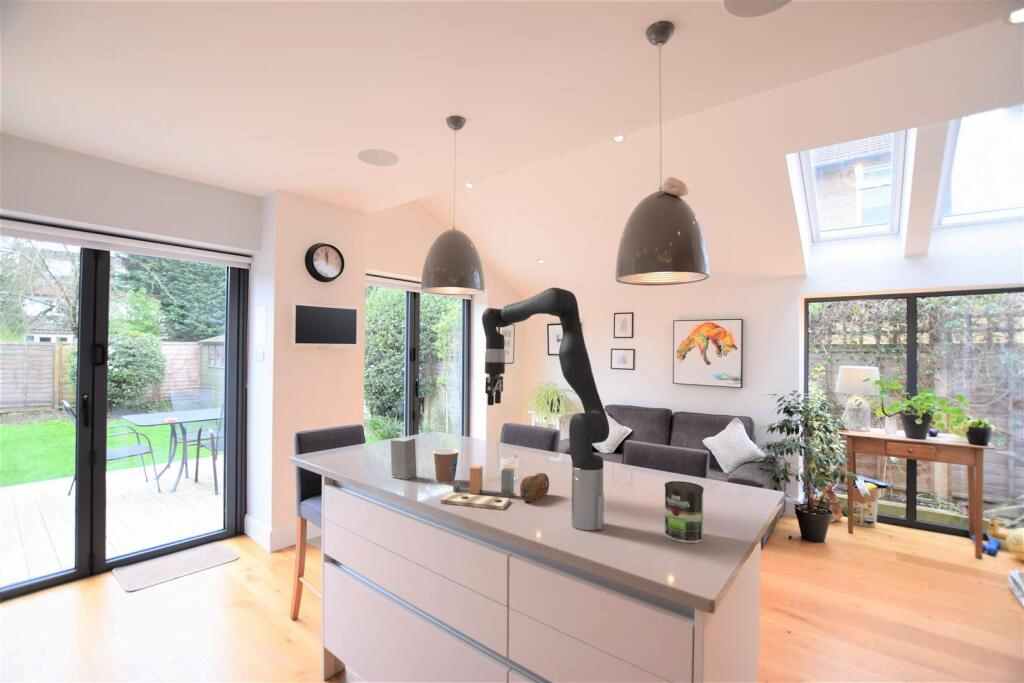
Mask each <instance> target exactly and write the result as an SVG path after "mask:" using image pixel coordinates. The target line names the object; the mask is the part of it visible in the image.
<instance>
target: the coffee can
mask: <svg viewBox="0 0 1024 683" xmlns="http://www.w3.org/2000/svg"><path fill="white" fill-rule="evenodd" d="M704 489H705V488H704V486H703V485H700V484H698V483H693V482H689V481H682V480H680V481H679V480H672V481H667V482H665V483H664V491H665V492H664V495H665V496H664V500H665V501H664V508H665V509H664V536H665V537H667V538H668V539H670V540H672V541H673V542H678V543H683V544H699V543H701V542H703V541H704Z"/></svg>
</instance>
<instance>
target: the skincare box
mask: <svg viewBox="0 0 1024 683" xmlns="http://www.w3.org/2000/svg"><path fill="white" fill-rule="evenodd" d="M416 451H417V450H416V438H413V437H412V438H411V437H410V438H408V437H397V438H394V439H391V440H390V459H391V460H390V464H391V465H390V466H391V477H392V476H394V477H399V478H403V479H402V480H405V479H406V480H408V478H409V479H413V478H416V477H417V459H416V458H417V457H416V456H417V455H416ZM415 476H416V477H415ZM412 477H413V478H412ZM399 478H398V479H399Z"/></svg>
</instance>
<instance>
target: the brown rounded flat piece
mask: <svg viewBox="0 0 1024 683" xmlns="http://www.w3.org/2000/svg"><path fill="white" fill-rule="evenodd" d="M519 489H520V491H519V494H520V497H521V499H522V500H523V501H524V502H528V503H534V502H536V501H538V500H540V499H543V498H545V496H546V495H548V493H549V489H550V481H549V477H548V475H547V474H546V473H544V472H543V473H542V472H537V473H535V474H532V475H528V476H526V477H524V478H523V479H522V481H521V482H520V487H519ZM542 497H543V498H542ZM535 500H536V501H535Z"/></svg>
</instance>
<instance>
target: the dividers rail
mask: <svg viewBox="0 0 1024 683" xmlns="http://www.w3.org/2000/svg"><path fill="white" fill-rule="evenodd" d="M500 473H501V480H500V482H501V485H500V491H495V490H488V489H487V490H486V489H482V490H480V493H481V494H480V495H487V494H490V495H489V496H497V495H498V496H497V497H501V498H508V497H510V499H511V498H516V497H517V493H516V492H515V491H514V489H515V486H514V485H515V481H514V480H515V469H514V468H505V467H504V468H503V469H501V472H500ZM452 487H453V489H452V490H453V491H454V492H453V493H458V492H457V491H460V492H459V493H467V492H470V488H466V487H461V484H460V483H456V484H455V485H454V486H452ZM515 496H516V497H515Z"/></svg>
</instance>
